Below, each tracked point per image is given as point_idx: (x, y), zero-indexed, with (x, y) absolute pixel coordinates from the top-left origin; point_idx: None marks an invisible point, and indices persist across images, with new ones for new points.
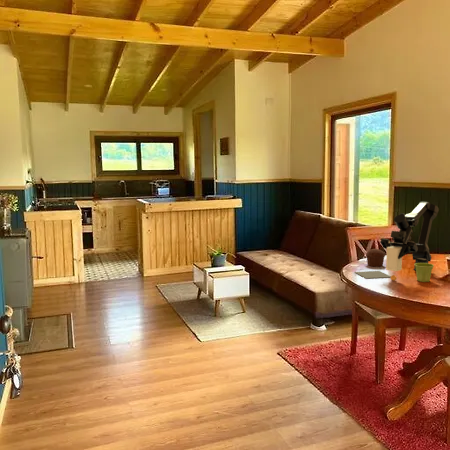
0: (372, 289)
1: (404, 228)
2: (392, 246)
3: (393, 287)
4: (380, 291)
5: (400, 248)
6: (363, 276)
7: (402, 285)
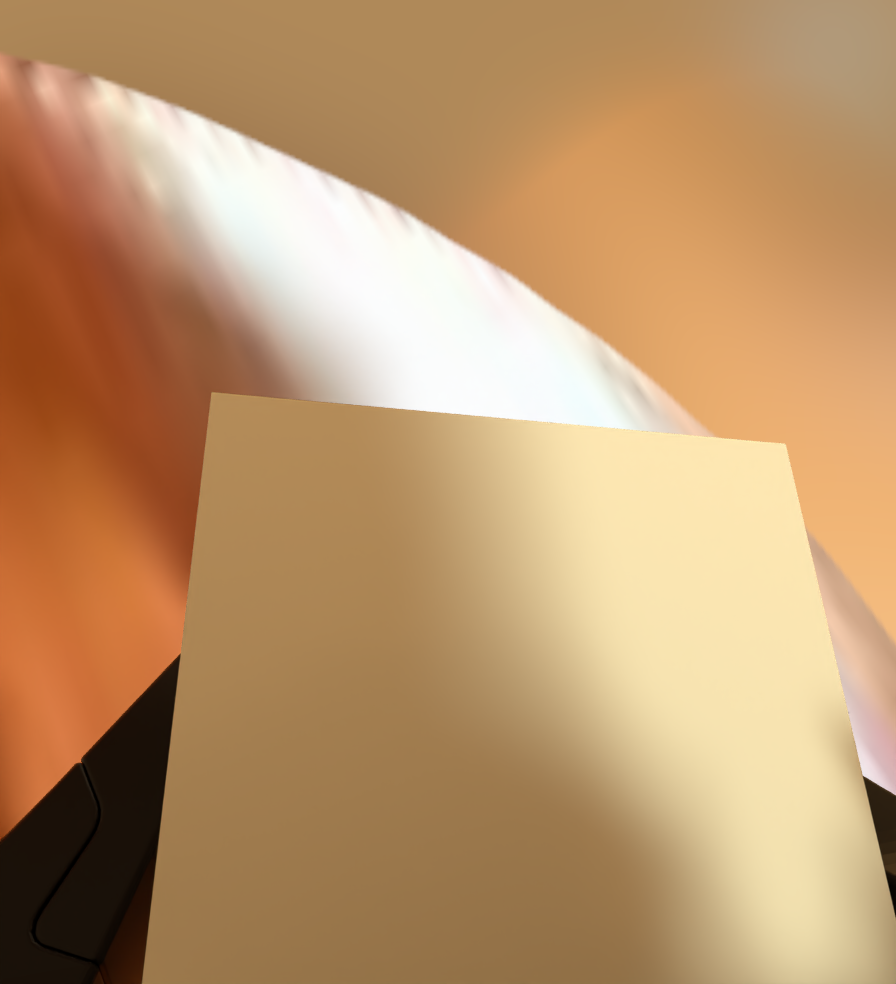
0: (342, 197)
1: None
2: (816, 958)
3: (213, 364)
4: (252, 170)
5: (162, 952)
6: None
7: (161, 510)
